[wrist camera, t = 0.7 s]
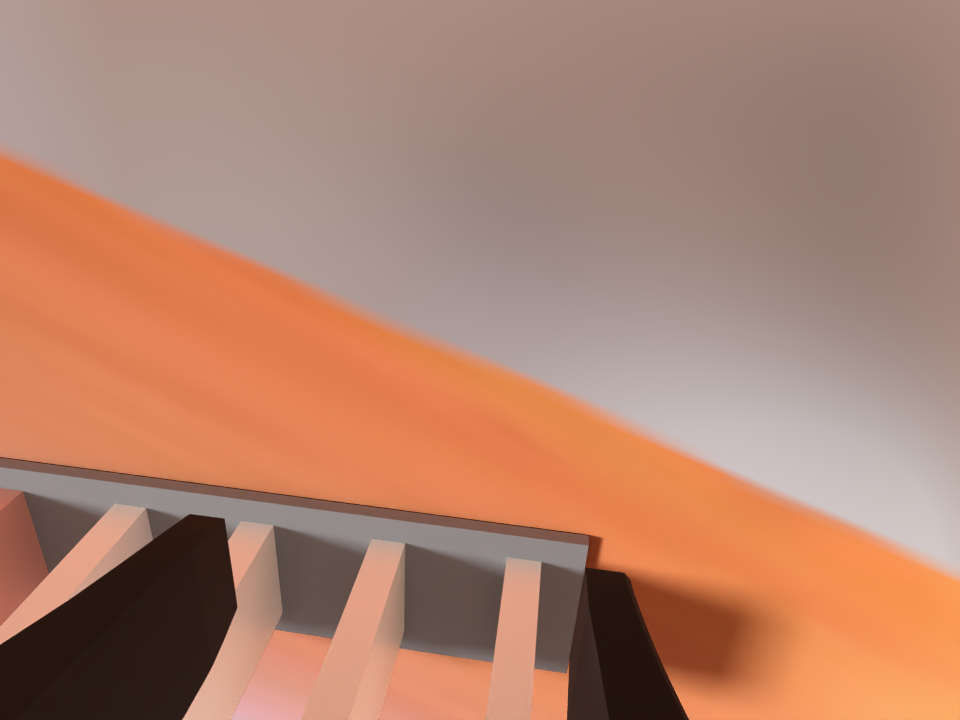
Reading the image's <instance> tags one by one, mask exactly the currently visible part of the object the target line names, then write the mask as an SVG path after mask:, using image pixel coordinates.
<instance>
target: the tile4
mask: <svg viewBox="0 0 960 720" xmlns="http://www.w3.org/2000/svg"><path fill="white" fill-rule="evenodd" d="M152 540H153V538H152V533H151V529H150V524H149V519H148V515H147V510H146V508H143V507H136V506H129V505H121V504H114V505H113V506H112V507H111V508H110V509H109V510H108V512H107V513H106V514H105V515H104V516H103V517H102V518H101V519H100V520H99V521H98V522H97V523H96V524H95V525H94V527H93V528H92V529H91V530H90V531H89V532H88V533H87V534H86V535H85V536H84V537H83V538H82V539H81V540H80V542H79V543H78V544H77V545H76V546H75V547H74V548H73V549H72V550H71V551H70V552H69V553H68V554H67V556H66V557H65V558H64V559H63V560H62V561H61V562H60V563H59V564H58V565H57V566H56V567H55V568H54V569H53V571H52V572H51V573H50V574H49V575H48V576H47V577H46V578H45V579H44V580H43V581H42V582H41V583H40V584H39V586H38V587H37V588H36V589H35V590H34V591H33V592H32V593H31V594H30V595H29V596H28V597H27V598H26V600H25V601H24V602H23V603H22V604H21V605H20V606H19V607H18V608H17V609H16V610H15V611H14V612H13V613H12V615H11V616H10V617H9V618H8V619H7V620H6V621H5V622H4V623H3V624H2V625H1V626H0V644H2V643H3V642H5V641H6V640H8V639H9V638H11V637H13V636H14V635H16V634H17V633H19V632H20V631H22V630H23V629H25V628H26V627H28V626H29V625H31V624H33V623H34V622H36V621H37V620H39V619H40V618H42V617H43V616H45V615H46V614H48V613H49V612H51V611H52V610H54V609H56V608H57V607H59V606H60V605H62V604H63V603H65V602H66V601H68V600H69V599H71V598H72V597H74V596H75V595H76V594H78V593H79V592H81V591H82V590H84V589H85V588H86V587H88V586H89V585H91V584H92V583H93V582H95V581H96V580H98V579H99V578H101V577H102V576H103V575H105V574H106V573H108V572H109V571H111V570H112V569H113V568H115V567H116V566H118V565H119V564H120V563H122V562H123V561H125V560H126V559H127V558H129V557H130V556H131V555H133V554H134V553H136V552H137V551H138V550H140V549H141V548H143V547H144V546H145V545H147V544H148V543H149V542H151V541H152Z"/></svg>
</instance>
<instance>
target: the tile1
mask: <svg viewBox="0 0 960 720" xmlns="http://www.w3.org/2000/svg"><path fill="white" fill-rule="evenodd" d="M540 575H541V562H539V561H531V560H524V559H517V558H509V557H507V560H506V568H505V575H504V583H503V591H502V598H501V606H500V614H499V621H498V629H497V636H496V644H495V652H494V659H493V667H492V675H491V682H490V690H489V698H488V705H487V713H486V720H531V708H532V693H533V678H534V663H535V649H536V634H537V619H538V605H539V590H540Z"/></svg>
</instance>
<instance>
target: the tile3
mask: <svg viewBox="0 0 960 720" xmlns="http://www.w3.org/2000/svg"><path fill="white" fill-rule="evenodd" d="M228 545H229V552H230V558H231V565H232V572H233V579H234V586H235V592H236V599H237V606H238V608H237V610H236V613H235V615H234V617H233V620H232V622H231V625H230V627H229V630H228V632H227V635H226V637H225V639H224V642H223V644H222V646H221V648H220V651H219V653H218V655H217V658H216V660H215V662H214V664H213V667H212V668H211V670H210V672H209V674H208V676H207V677H206V679H205V681H204V683H203V685H202V686H201V688H200V690H199V692H198V693H197V695H196V697H195V699H194V700H193V702H192V704H191V706H190V707H189V709H188V711H187V713H186V714H185V716H184V718H183V720H231V718H232V716H233V714H234V712H235V710H236V708H237V705H238V703H239V701H240V699H241V697H242V695H243V693H244V691H245V689H246V687H247V685H248V683H249V681H250V679H251V677H252V675H253V673H254V671H255V669H256V667H257V664H258V662H259V660H260V658H261V656H262V654H263V652H264V650H265V648H266V646H267V644H268V642H269V640H270V638H271V636H272V634H273V632H274V630H275V628H276V626H277V624H278V621H279V619H280V617H281V615H282V613H283V612H282V602H281V593H280V583H279V574H278V564H277V555H276V545H275V536H274V526H273V525H268V524H260V523H253V522H246V521H241V522H240V523H239V525H238V526H237V528H236V530H235V531H234V533H233V534H232V536H231V537H230V539H229V540H228Z"/></svg>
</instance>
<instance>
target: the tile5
mask: <svg viewBox="0 0 960 720" xmlns="http://www.w3.org/2000/svg"><path fill="white" fill-rule="evenodd" d="M48 575H49V573H48V569H47V566H46V563H45V560H44V557H43V554H42V550H41V547H40V544H39V541H38V538H37V534H36V531H35V528H34V525H33V522H32V519H31V515H30V512H29V509H28V506H27V503H26V500H25V496H24V493H23V491H19V490H11V489H4V488H0V626H1V625H2V624H3V623H4V622H5V621H6V620H7V619H8V618H9V617H10V616H11V615H12V613H13V612H14V611H15V610H16V609H17V608H18V607H19V606H20V605H21V604H22V603H23V602H24V601H25V600H26V598H27V597H28V596H29V595H30V594H31V593H32V592H33V591H34V590H35V589H36V588H37V587H38V586H39V584H40V583H41V582H42V581H43V580H44V579H45V578H46V577H47V576H48Z"/></svg>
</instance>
